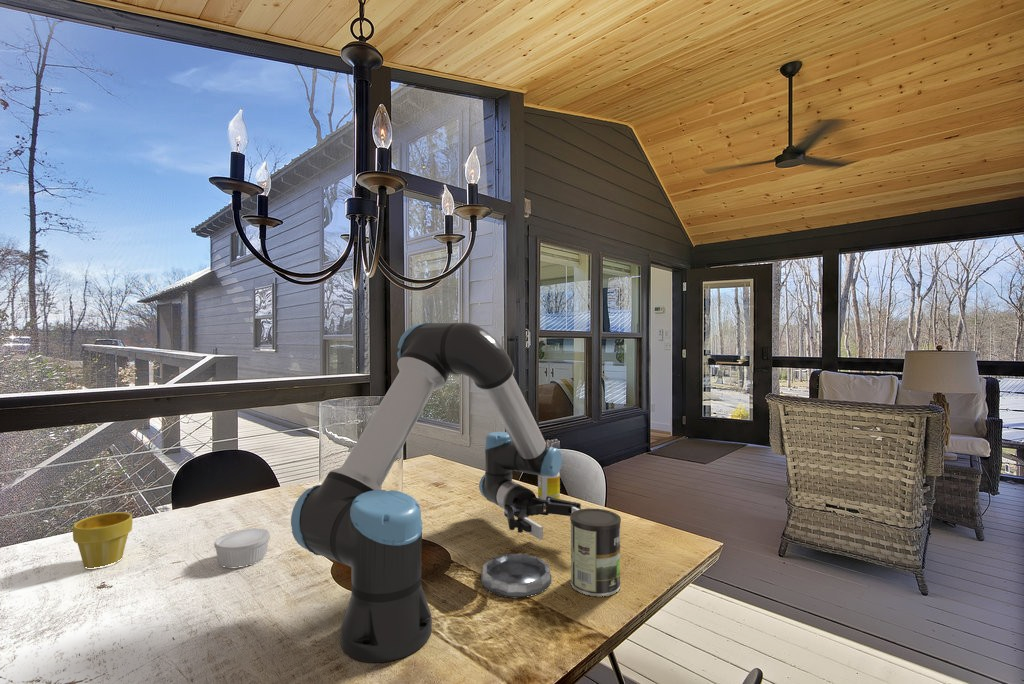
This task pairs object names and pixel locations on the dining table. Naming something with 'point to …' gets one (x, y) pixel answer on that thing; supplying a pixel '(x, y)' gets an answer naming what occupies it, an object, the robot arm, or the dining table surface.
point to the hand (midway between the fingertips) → (566, 527)
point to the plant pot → (102, 538)
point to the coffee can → (595, 552)
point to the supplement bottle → (549, 487)
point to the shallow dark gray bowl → (516, 575)
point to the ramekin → (242, 547)
